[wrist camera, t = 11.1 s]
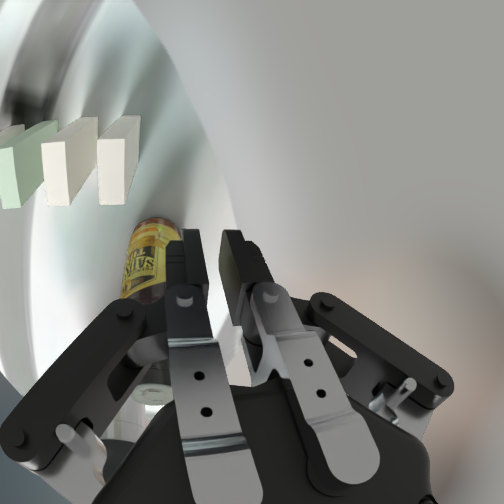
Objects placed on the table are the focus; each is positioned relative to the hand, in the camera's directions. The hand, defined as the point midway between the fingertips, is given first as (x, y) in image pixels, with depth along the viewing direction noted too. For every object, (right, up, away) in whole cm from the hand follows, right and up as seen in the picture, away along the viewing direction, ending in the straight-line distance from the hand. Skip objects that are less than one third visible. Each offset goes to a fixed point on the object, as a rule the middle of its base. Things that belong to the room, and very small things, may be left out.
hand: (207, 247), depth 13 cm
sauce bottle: (-10, +1, +21) cm, 23 cm away
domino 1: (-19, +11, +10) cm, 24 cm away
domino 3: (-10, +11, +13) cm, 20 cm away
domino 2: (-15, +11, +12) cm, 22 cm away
